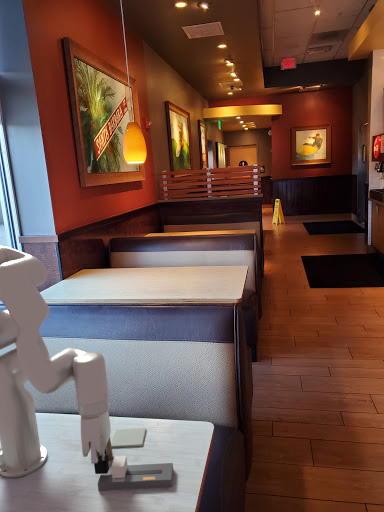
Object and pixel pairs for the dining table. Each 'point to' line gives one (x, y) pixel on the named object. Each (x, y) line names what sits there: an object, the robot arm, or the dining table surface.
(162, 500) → the dining table surface
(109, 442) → the tool handle
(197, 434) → the dining table surface
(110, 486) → the switch board
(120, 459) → the switch tab
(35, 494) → the dining table surface
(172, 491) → the dining table surface
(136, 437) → the mat
